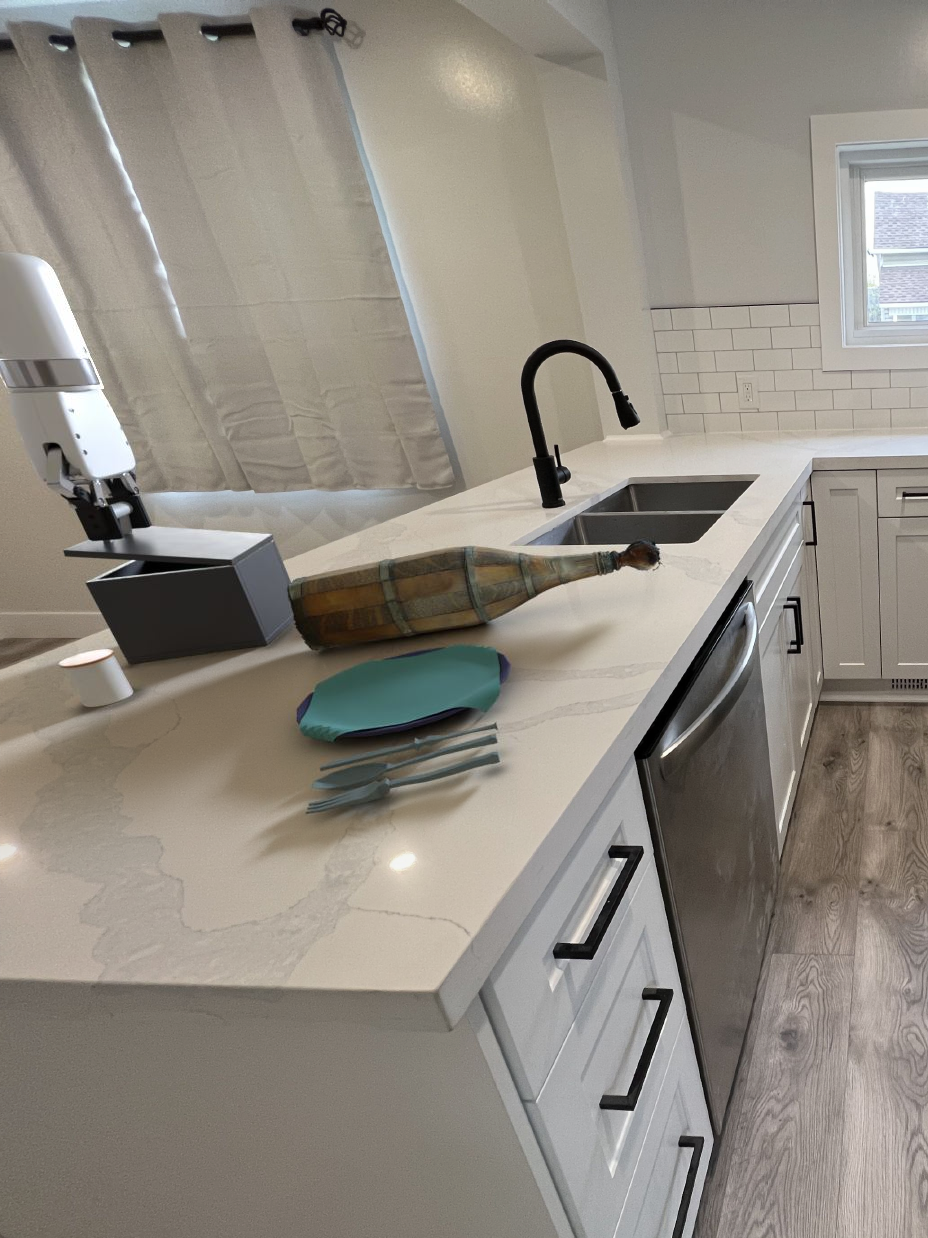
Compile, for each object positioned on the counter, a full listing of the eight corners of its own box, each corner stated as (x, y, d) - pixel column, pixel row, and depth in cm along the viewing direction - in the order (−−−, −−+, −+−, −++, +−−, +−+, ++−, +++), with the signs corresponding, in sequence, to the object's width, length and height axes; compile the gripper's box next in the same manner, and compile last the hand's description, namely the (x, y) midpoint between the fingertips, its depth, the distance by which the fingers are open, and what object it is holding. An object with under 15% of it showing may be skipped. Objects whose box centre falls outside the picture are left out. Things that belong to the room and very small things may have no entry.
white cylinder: (73, 710, 75) (48, 668, 73) (97, 693, 79) (74, 652, 77) (121, 703, 77) (98, 661, 74) (142, 686, 80) (121, 646, 78)
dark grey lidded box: (128, 664, 86) (84, 582, 82) (180, 627, 97) (144, 553, 92) (267, 645, 90) (233, 566, 86) (303, 611, 101) (274, 540, 97)
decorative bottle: (286, 648, 81) (673, 582, 96) (269, 561, 82) (657, 510, 97) (324, 658, 91) (669, 597, 107) (309, 580, 92) (654, 531, 107)
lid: (64, 556, 80) (54, 515, 78) (128, 530, 91) (120, 493, 89) (232, 565, 86) (226, 527, 84) (273, 539, 96) (268, 505, 95)
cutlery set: (510, 647, 87) (505, 630, 86) (526, 766, 63) (520, 744, 62) (320, 685, 79) (313, 667, 78) (254, 838, 55) (242, 815, 54)
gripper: (59, 374, 85) (124, 520, 92) (-54, 381, 70) (35, 555, 77) (136, 373, 87) (194, 516, 94) (43, 380, 72) (120, 548, 80)
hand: (121, 532), depth 86 cm, fingers closed on lid, 5 cm apart
